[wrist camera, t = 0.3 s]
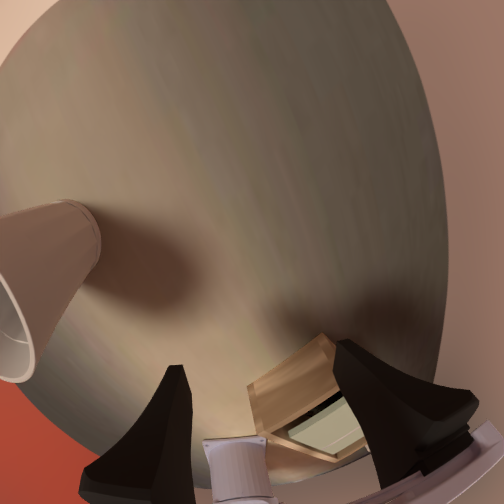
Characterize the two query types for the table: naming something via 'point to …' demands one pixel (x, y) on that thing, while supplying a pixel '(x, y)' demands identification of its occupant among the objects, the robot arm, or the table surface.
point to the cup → (40, 277)
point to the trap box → (297, 396)
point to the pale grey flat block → (329, 428)
